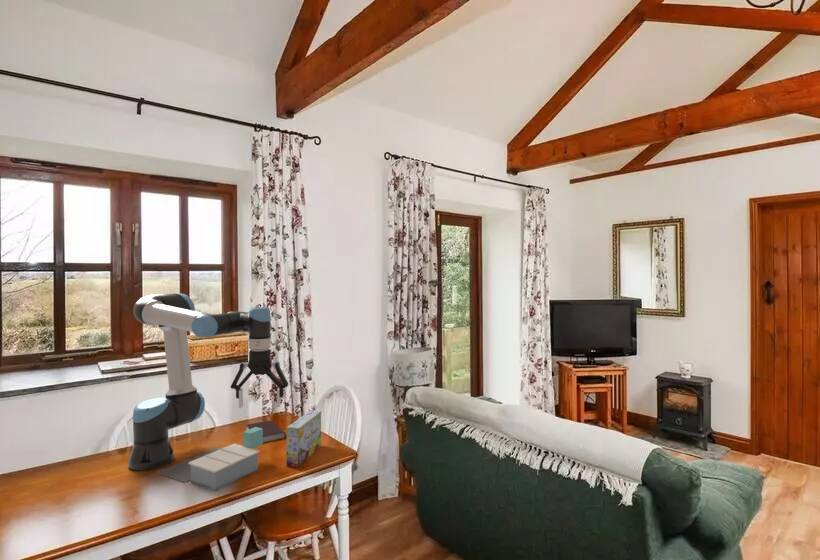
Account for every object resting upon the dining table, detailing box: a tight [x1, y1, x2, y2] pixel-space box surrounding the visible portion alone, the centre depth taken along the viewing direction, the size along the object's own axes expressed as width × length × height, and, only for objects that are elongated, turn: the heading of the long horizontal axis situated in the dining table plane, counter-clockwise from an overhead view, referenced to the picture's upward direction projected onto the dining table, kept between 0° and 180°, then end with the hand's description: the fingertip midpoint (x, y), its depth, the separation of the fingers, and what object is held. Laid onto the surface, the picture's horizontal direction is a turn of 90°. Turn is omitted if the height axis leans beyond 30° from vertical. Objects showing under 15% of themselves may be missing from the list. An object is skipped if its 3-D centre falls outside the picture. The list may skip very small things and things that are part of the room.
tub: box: [190, 453, 259, 492], centre depth 157 cm, size 13×18×6 cm
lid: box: [188, 427, 264, 473], centre depth 160 cm, size 14×25×6 cm, turn 151°
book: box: [245, 420, 287, 443], centre depth 198 cm, size 12×19×3 cm, turn 34°
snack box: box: [285, 410, 322, 468], centre depth 174 cm, size 21×6×15 cm, turn 168°
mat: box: [156, 446, 222, 484], centre depth 167 cm, size 16×26×1 cm, turn 151°
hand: (260, 406), depth 162 cm, fingers open, 13 cm apart
